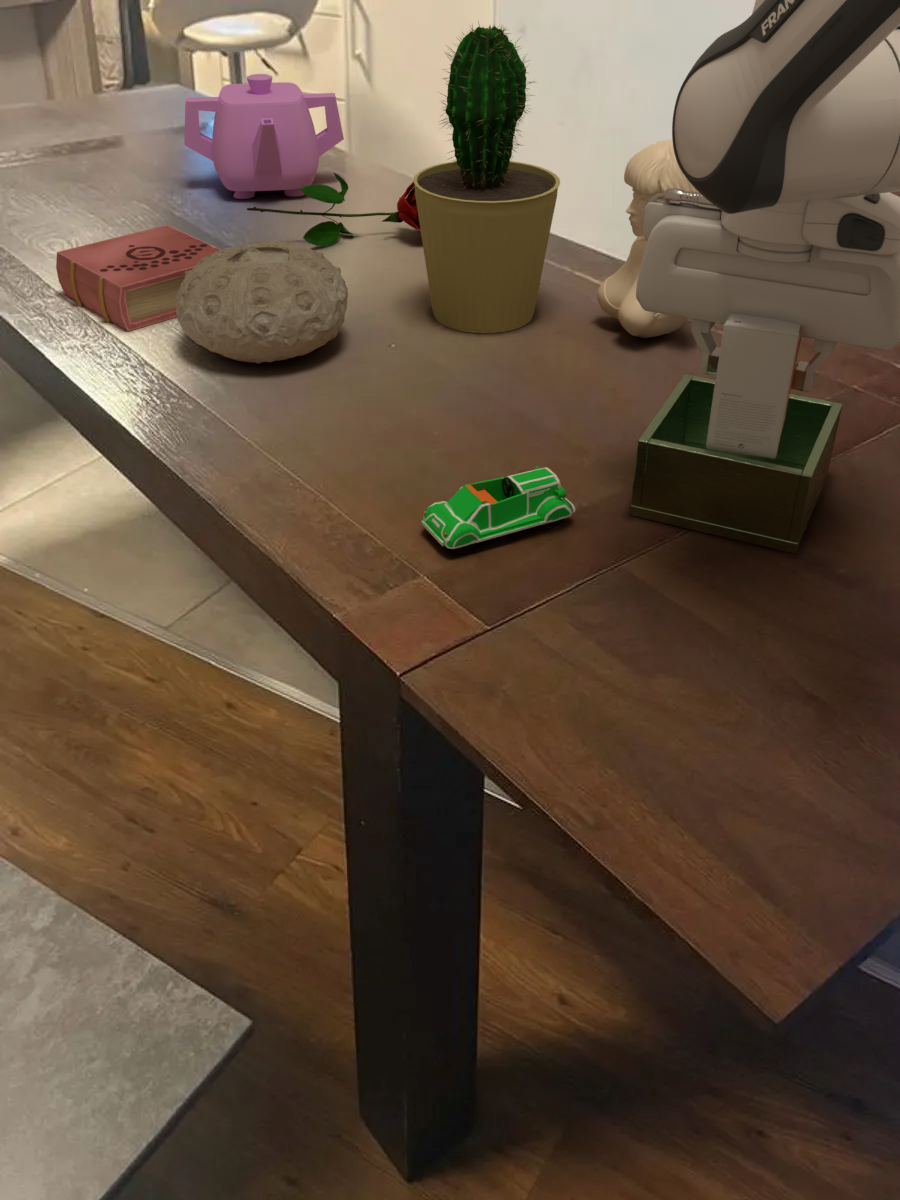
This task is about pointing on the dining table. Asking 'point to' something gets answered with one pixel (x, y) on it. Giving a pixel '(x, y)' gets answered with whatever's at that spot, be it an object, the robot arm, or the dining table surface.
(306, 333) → the decorative shell
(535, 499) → the toy car
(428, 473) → the dining table surface
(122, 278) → the book
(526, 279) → the potted cactus
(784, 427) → the open box
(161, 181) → the dining table surface
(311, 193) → the flower
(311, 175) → the teapot
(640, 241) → the figurine
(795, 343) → the small box
